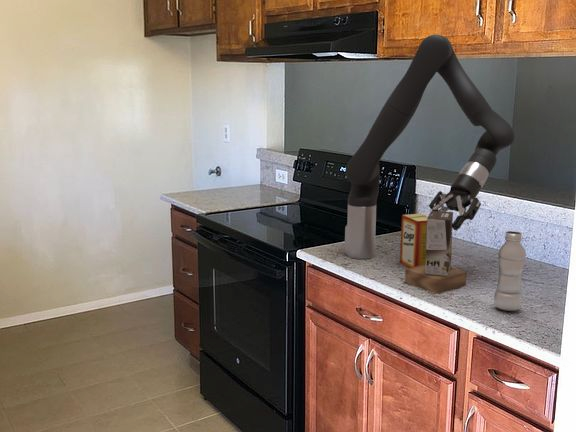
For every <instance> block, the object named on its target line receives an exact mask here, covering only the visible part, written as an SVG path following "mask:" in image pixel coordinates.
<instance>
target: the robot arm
mask: <svg viewBox="0 0 576 432" xmlns="http://www.w3.org/2000/svg"><path fill="white" fill-rule="evenodd" d="M452 45H453V44H452V42H451V41H450V39H448V38H447V37H446V36H444V35H441V34H430V35H428V36H426V37H425V38H423V39H422V41H421V42H420V44H419V46H418V48H417V50H416V53H415V55H414V57H413V58H412V60H411V62H410V64H409V67H408V69H407V71H406V72H405V74H404V75H403V77H402V78H401V80H400V81H399V82H398V84H397V85H396V86H395V88H394V89H393V91H392V92H391V94H390V96H388V98H387V100H386V101H385V103H384V105H383V106H382V108H381V110H380V111H379V113H378V115H377V116H376V119H375V121H374V123H373V124H372V126H371V128H370V129H369V132H368V134H367V135H366V138H365V139H364V141H363V142H362V144H361V145H360V146H359V147H358V149H357V150H356V151H355V153H353V156H351V158H350V160H348V162H347V164H346V167H345V177H346V178H347V180H348V182H350V184H351V187H350V191H349V193H348V196H347V224H346V225H345V228H344V254H345V255H346V256H347V257H349V258H350V259H351V258H352V259H356V260H358V259H359V260H366V259H367V260H368V259H373V258H374V257H375V256H376V255H375V252H376V251H375V250H376V229H377V228H376V227H377V226H376V223H377V200H378V196H379V192H380V173H381V172H380V170H381V169H380V168H381V167H380V164H379V163H380V161H381V159H382V157H383V156H384V154H385V152H386V151H387V150H388V149H389V148H390V146H391V145H393V143H394V142H395V141H396V140H397V138H399V136H400V135H401V134H402V133H403V132H404V130H405V129H406V127H407V126H408V125H409V123H410V121H411V119H412V118H413V117H414V115H415V113H416V111H417V110H418V107H419V106H420V102H421V101H422V98H423V95H424V93H425V90H426V88H427V87H428V85H429V83H430V82H431V81H432V79H433V77H434V76H435V75H436V73H437V74H438V75H439V76H440V77H441V78H442V80H443V81H444V82H445V83H446V85H447V87H448V88H449V90H450V92H451V93H452V95H453V97H454V99H455V101H456V103H457V104H458V105H459V107H460V109H461V111H462V112H463V114H464V115H465V117H466V118H467V120H469V122H470V123H471V124H472V126H474V127H482V128H483V129H484V130H485V131H484V132H483V133H482V135H481V136H480V137H479V139H478V142H477V144H476V146H475V148H474V152H473V153H472V155H471V156H470V157H469V159H468V161H467V162H466V163H465V165H464V166H463V167H462V168H461V170H460V172H459V173H458V175H457V176H456V177H455V179H454V181H453V182H452V184H451V186H450V189H449V191H448V193H444V192H442V191H441V190H440V191H438V192H437V194H436V195H435V196H434V198H433V199H432V201H431V202H430V203H429V204H428V207H429V209H430V210H431V211H436V212H439V211H442V212H449V211H455V212H458V213H459V215H457V216H456V218H455V219H454V221H453V224H452V230H453V231H458V230H459V229H460V228H461V226H462V225H463V223H464V222H465V221H467V220H469V221H472V220H474V219H475V216H476V215H477V213H478V211H479V209H480V207H481V205H482V203H481V201H480V199H479V198H478V195H479V193H480V191H481V190H482V188H483V186H484V185H485V183H486V182H487V180H488V177H489V175H490V173H491V172H492V171H493V169H494V167H495V165H496V163H497V154H498V153H499V152H500V151H501V150H504V149H506V148H507V147H509V146H511V145H512V144H513V143H514V141H515V138H516V137H515V132H514V130H513V127H512V125H511V124H510V123H509V122H508V121H506V119H504V118H503V117H502V116H501V115H500V114H499V113H498V112H496V111H495V110H493V108H492V107H491V106H490V104H489V102H488V101H487V100H486V98H485V97H484V95H483V94H482V93H481V91H480V90H479V88H477V87H476V85H475V83H474V82H473V80H471V78H470V77H469V75H468V74H467V73H466V71H465V69H464V68H463V66H462V64H461V63H460V60H459V59H458V57H457V55H456V53H455V51H454V49H453V46H452ZM467 207H468V209H467Z"/></svg>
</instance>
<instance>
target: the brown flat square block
mask: <svg viewBox="0 0 576 432" xmlns="http://www.w3.org/2000/svg"><path fill="white" fill-rule="evenodd" d="M425 267H426V264H424V265H420V266H416V267H412V268H408V267H407V268H405V271H404V272H405V275H404V276H405V277H404V278H405V279H404V283H405V284H409V285H411V286H414V287H417V288H419V289H422V290H425V291H428V292H431V293H434V294H437V295H440V294H443V293H447V292H449V291H452V290H455V289H459V288H463V287H465V286H467V278H468V276H467V275H468V274H467V273H468V272H467V271H465V270H461V269H458V268H455V267H450V270H449V273H448V276H441V275H431V274H425Z"/></svg>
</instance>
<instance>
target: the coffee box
mask: <svg viewBox="0 0 576 432" xmlns="http://www.w3.org/2000/svg"><path fill="white" fill-rule="evenodd" d="M427 216H428V218H427V238H426V267H425V274H431V275H441V276H448V273H449V270H450V267H451V266H452V252H453V251H452V249H453V248H452V246H453V245H452V242H453V228H452V224H453V222H454V221H453V219H454V212H453V211H446V212H442V211H439V212H436V211H432V210H431V211H430V212H429V215H427Z"/></svg>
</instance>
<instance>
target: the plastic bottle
mask: <svg viewBox="0 0 576 432" xmlns="http://www.w3.org/2000/svg"><path fill="white" fill-rule="evenodd" d="M522 240H523V238H522V232H520V231H516V230H515V231H514V230H507V231H506V232H505V237H504V241H505V242H504V243H503V244H502V245H501V246H500V248H499V249H498V251H497V252H498V253H497V255H498V279H497V285H496V289H495V291H494V295H493V302H494V303H493V304H494V305H495V307H496V308H497V309H499V310H502V311H507V312H508V311H509V312H516V311H517V310H519V309H520V308H521V307H522V306H521V305H522V303H523V300H522V298H523V296H522V275H523V270H524V267H525V262H526V258H527V252H526V249H525V248H524V246H523V245H522V243H521V242H522Z"/></svg>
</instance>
